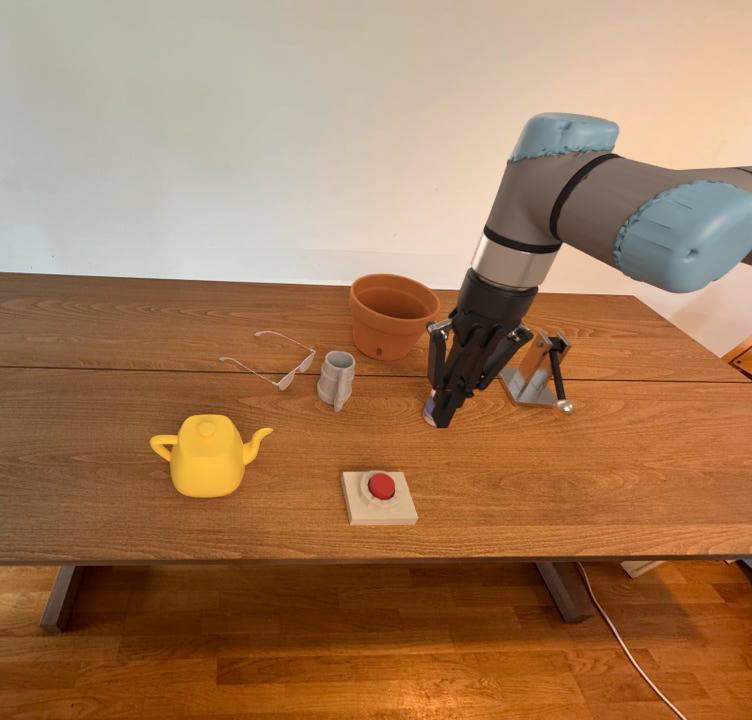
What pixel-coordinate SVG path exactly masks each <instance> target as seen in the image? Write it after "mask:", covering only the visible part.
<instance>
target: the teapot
mask: <svg viewBox="0 0 752 720" xmlns="http://www.w3.org/2000/svg"><path fill="white" fill-rule="evenodd" d="M273 432H274V429H273V428H271V427H264V428H260V429H258V430H256V431H255V432H254V433H253V434H252V437H251V440H250V441H249V442H245V443H243V438H242V436H241V434H240V431H239V429H237V427H236V424H235V423H233V421H232V420H231V419H230V418H229V417H228V416H226V415H223V414H195V415H191V416H188V417H187V418H186V419H185V420H184V421H183V422H182V425H180V428H179V430H178V432H177V434H158V435H153V436H152V437H151V438H150V440H149V445H150V447H151V449H152V450H153V451H154V452H155V453H156V454H157V455H158V456H160V457H162V458H163V459H164V460H166V461H167V462H169V471H170V478H171V481H172V484H173V486H174V488H175V490H176V491H178V492H179V493H180V494H182V495H183V496H187V497H192V498H203V499H204V498H205V499H207V498H218V497H219V498H220V497H223V496H227V495H230V494H232V493H233V492H235V491H236V490H237V489H238V488H239V486H240V485H241V483H242V481H243V478H244V475H245V471H246V466H247V465H249V464H251V463H252V462H254V460H255V459H256V458H257V456H258V454H259V450H260V446H261V442H262V440H263V438H265V437H266V436H268V435H270V434H271V433H273ZM164 445H172V447H171V450H168V449H167V448H166V447H165V446H164Z"/></svg>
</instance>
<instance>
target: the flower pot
mask: <svg viewBox="0 0 752 720" xmlns="http://www.w3.org/2000/svg"><path fill="white" fill-rule="evenodd" d="M349 289H350V290H349V298H348V308H349V311H350V312H351V327H352V341H353V345H354V346H355V347H356V349H358V351H360V352H361V353H362V354H364V355H365V356H367V357H369V358H372V359H373V360H374V359H375V360H379V361H385V362H390V361H391V362H392V361H398V360H401V359H403V358H405V357H406V356H407V355H408V354H409V353H410V352H411V350H412V349H413V347H414V346H415V345H416V344H417V343H418V341H419V339H420V338H421V337H422V335H423V334H424V333H425V332H426V331H427V329H426V324H427V323H428V322H429V321H434V322H435V321H436V319H437V317H438V316H439V314H440V311H441V309H442V303H441V300H440V298H439V296H438V295H437V294H436V292H435V291H434V290H432V289H431V288H430V287H428V286H427V285H425V284H423V283H422V282H419V281H417V280H415V279H412V278H409V277H406V276H403V275H400V274H393V273H371V274H366V275H363V276H361V277H358V278H357V279H355V280H354V281H353V282H352V284H351V286H350V288H349Z"/></svg>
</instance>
